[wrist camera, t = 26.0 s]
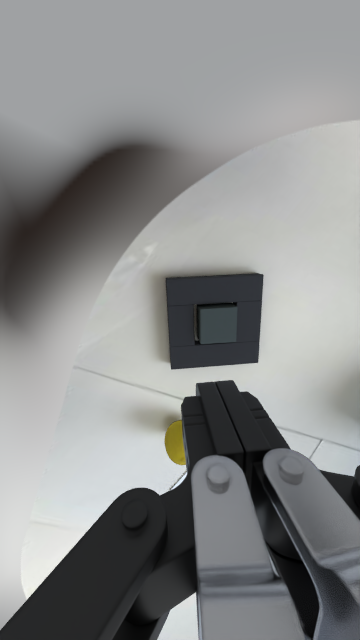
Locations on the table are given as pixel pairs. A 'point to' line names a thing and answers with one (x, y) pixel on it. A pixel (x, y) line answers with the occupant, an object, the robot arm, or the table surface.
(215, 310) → the dark grey square block
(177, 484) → the white box
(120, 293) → the table surface
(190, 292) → the base pad
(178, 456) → the lemon
